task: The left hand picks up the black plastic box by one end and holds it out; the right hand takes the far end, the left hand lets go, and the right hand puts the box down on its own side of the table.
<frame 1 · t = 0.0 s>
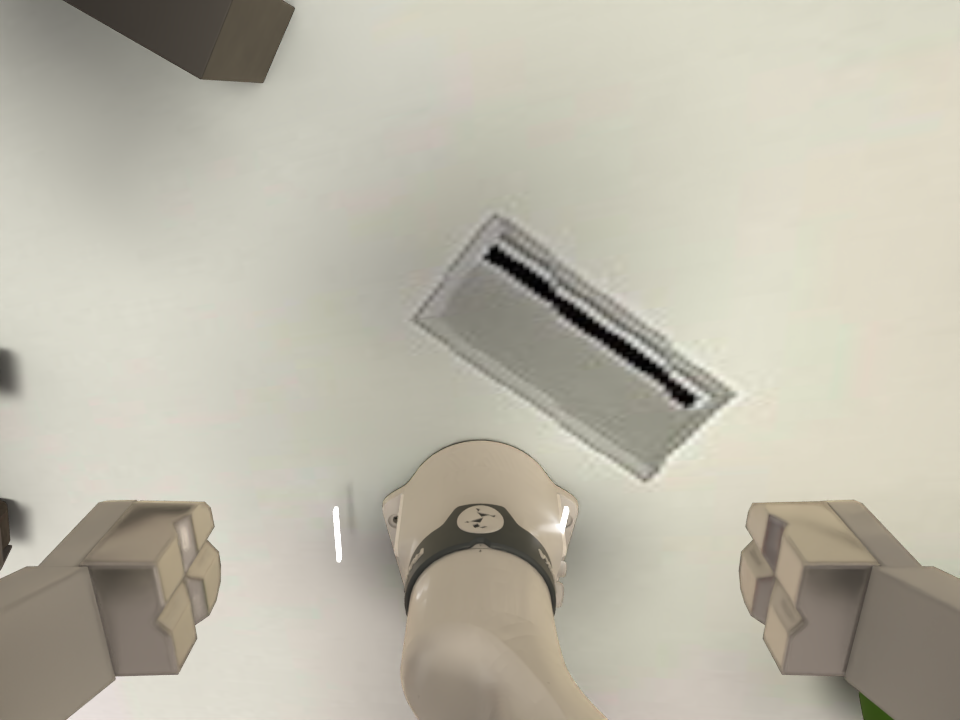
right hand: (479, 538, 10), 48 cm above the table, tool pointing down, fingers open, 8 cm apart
vase: (902, 642, 72), on the table
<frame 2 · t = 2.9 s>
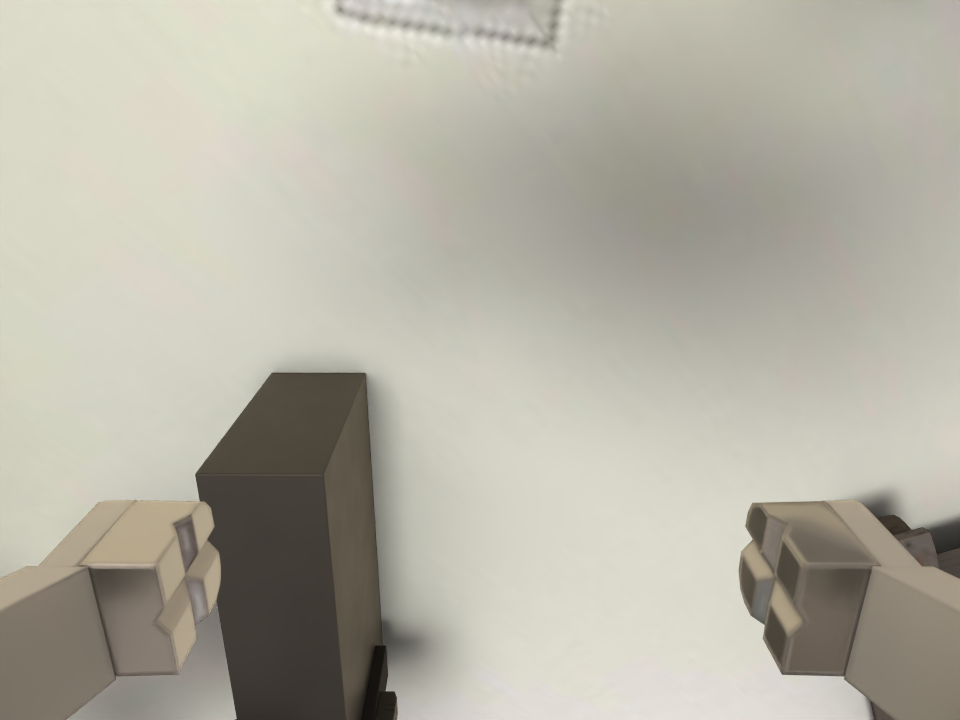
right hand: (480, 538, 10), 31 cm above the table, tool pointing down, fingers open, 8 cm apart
box: (333, 534, 48), on the table, touching left hand
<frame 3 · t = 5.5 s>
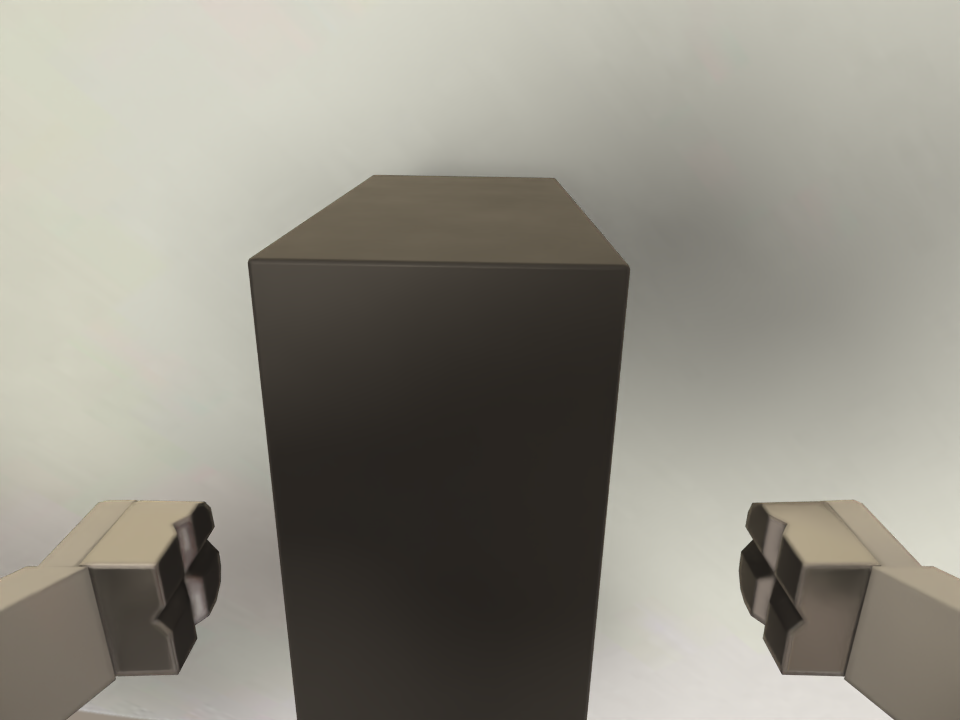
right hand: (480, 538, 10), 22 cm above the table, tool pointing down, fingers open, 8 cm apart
box: (461, 498, 27), point 8 cm above the table, touching left hand
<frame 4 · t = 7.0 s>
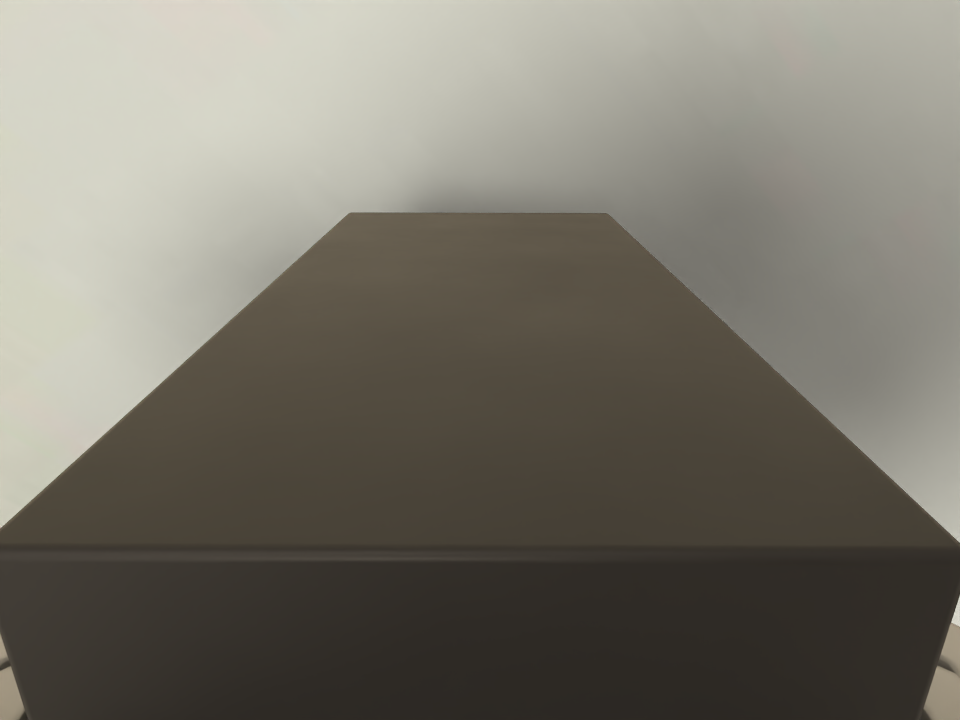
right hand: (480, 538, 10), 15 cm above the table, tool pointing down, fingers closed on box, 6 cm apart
box: (477, 631, 20), point 8 cm above the table, touching right hand, left hand
when the left hand's fingers open (11 cm above the table, at t = 8.1 s): box stays where it is, held by the right hand.
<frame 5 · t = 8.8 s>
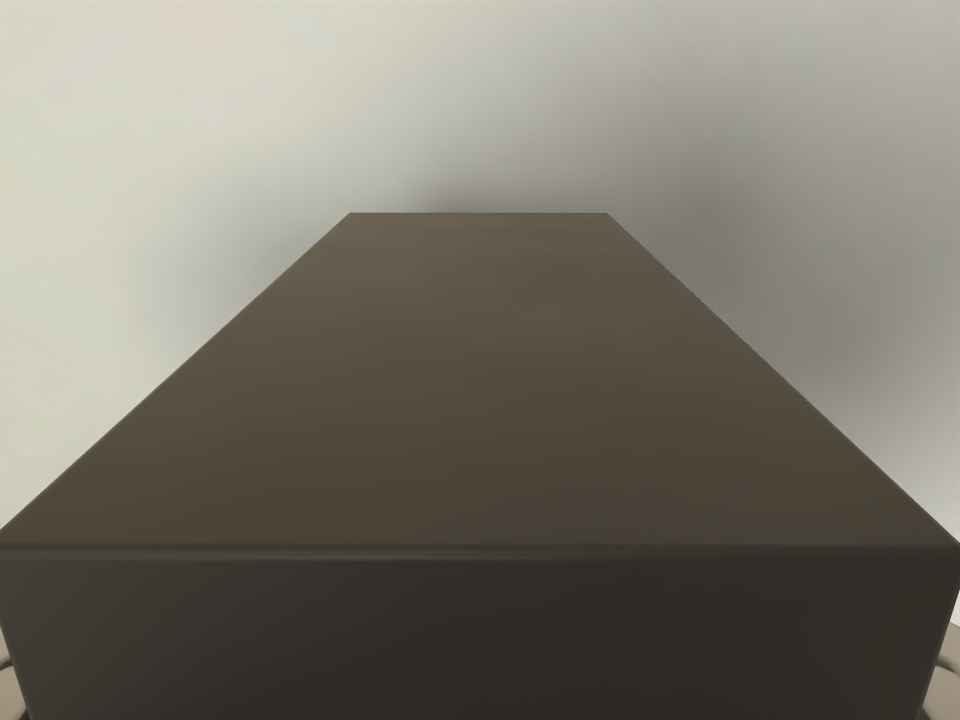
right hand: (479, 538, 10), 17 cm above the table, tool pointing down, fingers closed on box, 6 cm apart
box: (477, 630, 20), point 10 cm above the table, touching right hand
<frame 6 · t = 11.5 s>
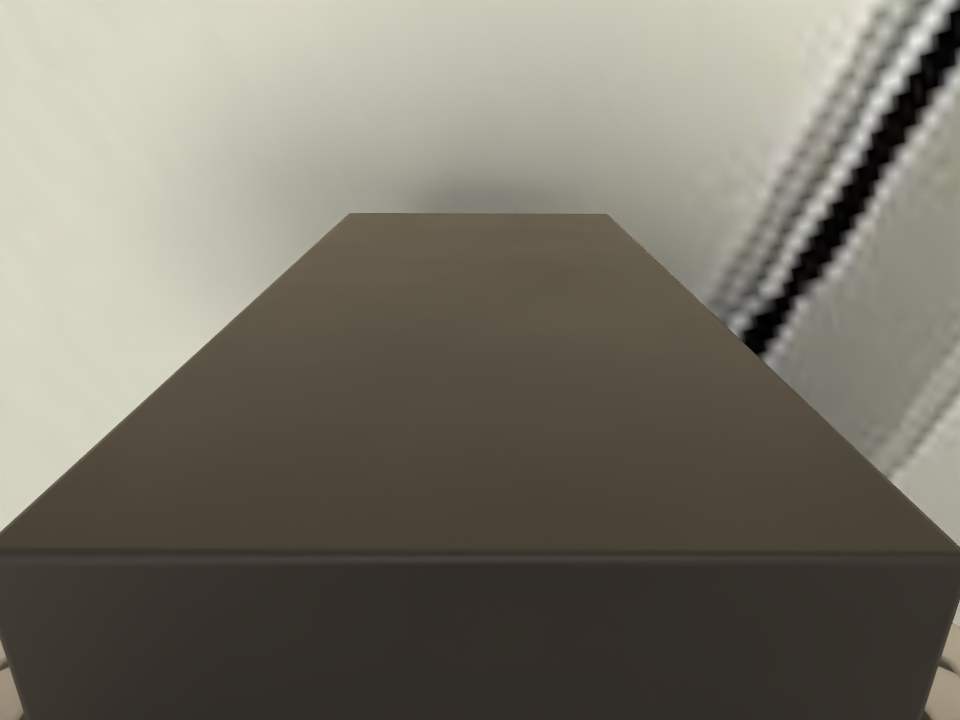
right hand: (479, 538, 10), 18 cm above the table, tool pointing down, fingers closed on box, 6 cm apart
box: (477, 631, 20), point 11 cm above the table, touching right hand
when the right hand's fingers open (8 cm above the table, at t = 16.1 s): box stays where it is, on the table.
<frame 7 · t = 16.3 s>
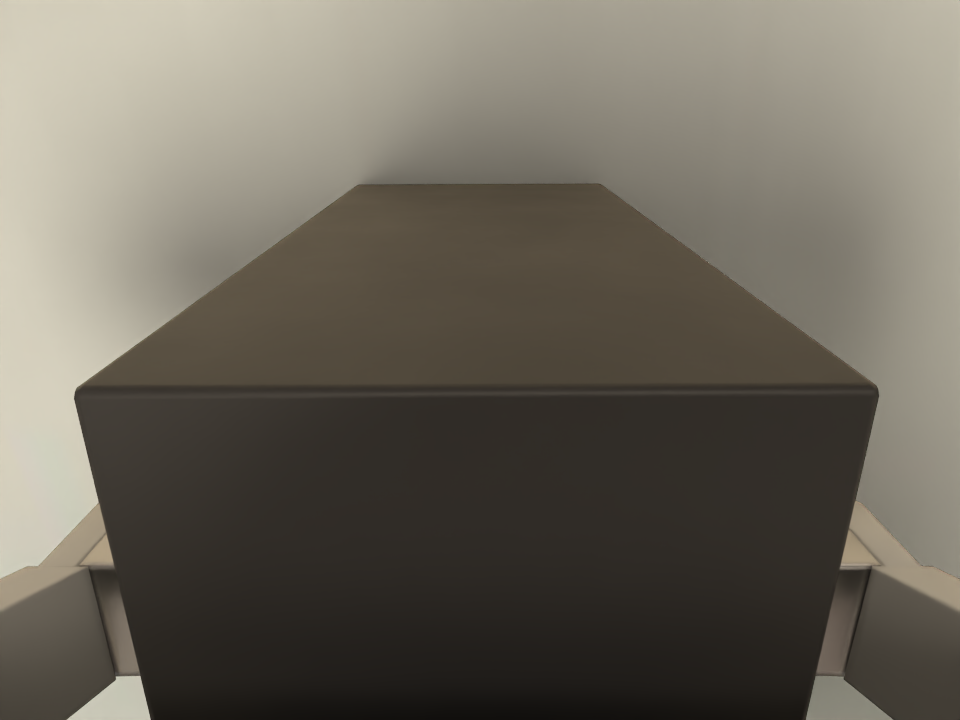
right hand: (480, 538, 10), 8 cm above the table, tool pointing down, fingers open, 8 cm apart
box: (480, 589, 21), on the table
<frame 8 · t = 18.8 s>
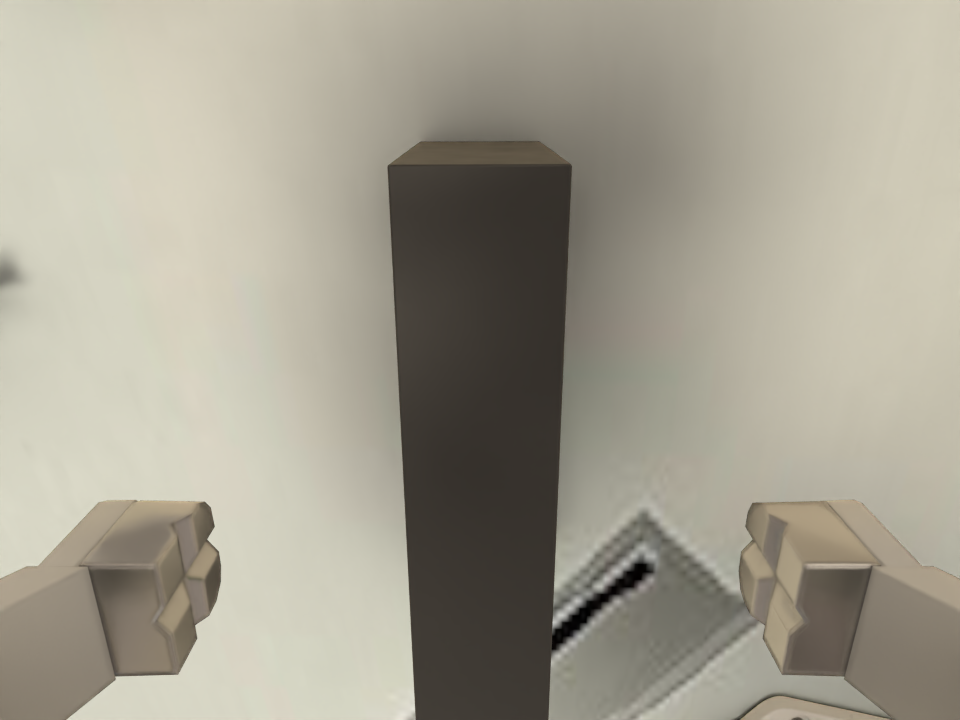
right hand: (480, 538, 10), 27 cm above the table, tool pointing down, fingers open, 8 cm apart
box: (480, 370, 38), on the table
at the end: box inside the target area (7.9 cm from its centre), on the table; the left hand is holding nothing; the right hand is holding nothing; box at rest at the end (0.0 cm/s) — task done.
